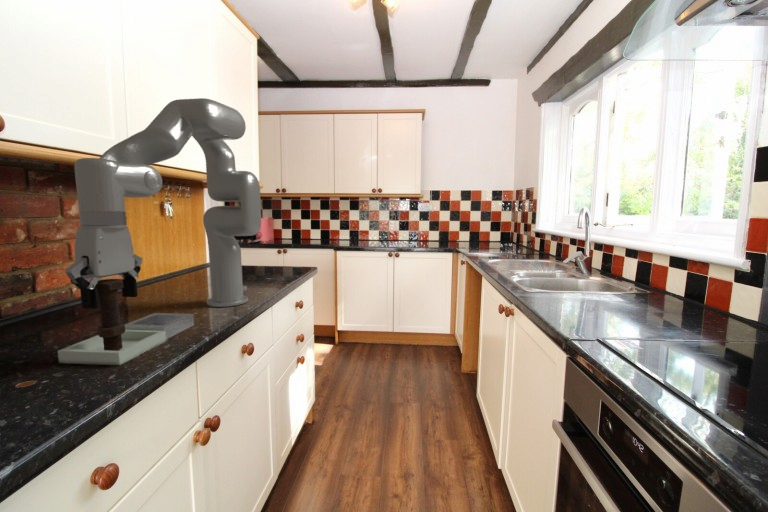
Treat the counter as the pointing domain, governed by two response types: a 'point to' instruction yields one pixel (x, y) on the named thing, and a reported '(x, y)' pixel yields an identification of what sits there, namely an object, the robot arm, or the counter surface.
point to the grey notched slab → (163, 323)
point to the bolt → (110, 314)
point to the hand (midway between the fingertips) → (111, 302)
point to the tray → (96, 354)
